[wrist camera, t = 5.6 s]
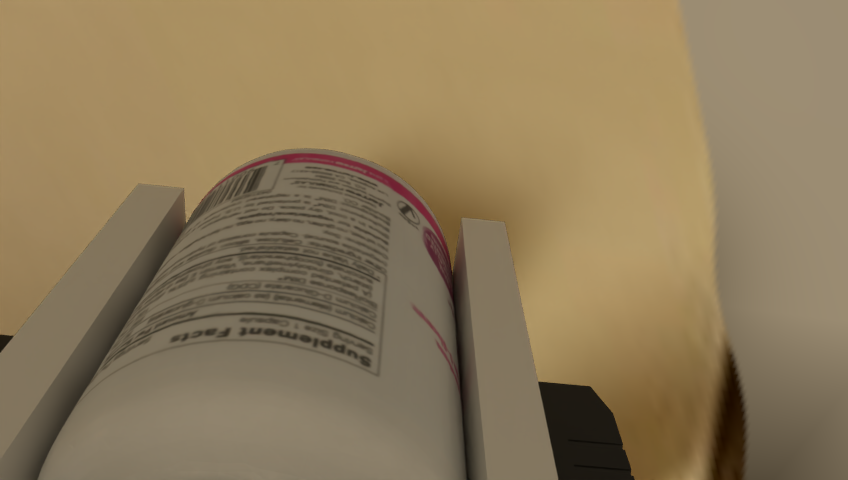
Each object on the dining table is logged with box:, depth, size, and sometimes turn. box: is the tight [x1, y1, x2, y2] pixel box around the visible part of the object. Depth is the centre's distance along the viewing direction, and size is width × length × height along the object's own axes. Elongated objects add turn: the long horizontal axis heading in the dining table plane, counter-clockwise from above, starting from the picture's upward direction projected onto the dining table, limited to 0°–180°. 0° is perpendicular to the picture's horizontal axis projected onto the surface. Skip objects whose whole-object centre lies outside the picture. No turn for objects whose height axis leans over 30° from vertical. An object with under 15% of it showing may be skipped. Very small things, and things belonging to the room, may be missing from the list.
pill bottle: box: [38, 148, 467, 480], centre depth 9 cm, size 5×5×8 cm
